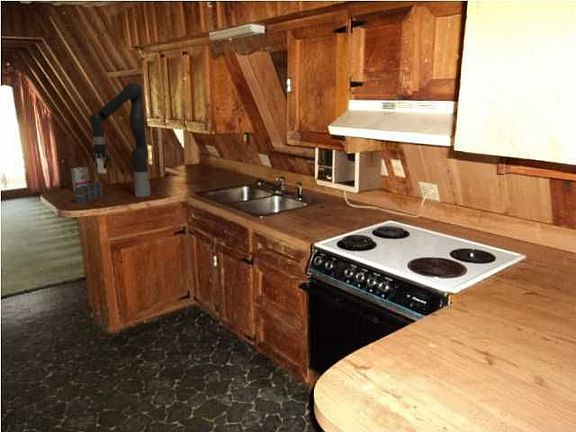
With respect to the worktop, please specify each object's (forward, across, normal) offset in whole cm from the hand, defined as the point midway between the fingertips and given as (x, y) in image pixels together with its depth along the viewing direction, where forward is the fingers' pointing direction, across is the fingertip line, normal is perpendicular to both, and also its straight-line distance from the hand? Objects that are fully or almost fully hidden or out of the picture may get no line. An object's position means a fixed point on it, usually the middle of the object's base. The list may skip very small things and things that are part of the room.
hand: (101, 167), depth 313 cm
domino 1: (+19, 0, +24) cm, 31 cm away
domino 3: (+19, 0, +12) cm, 22 cm away
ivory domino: (+3, 0, 0) cm, 3 cm away
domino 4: (+19, 0, +6) cm, 20 cm away
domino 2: (+19, 0, +18) cm, 26 cm away
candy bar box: (+19, +24, -8) cm, 32 cm away
